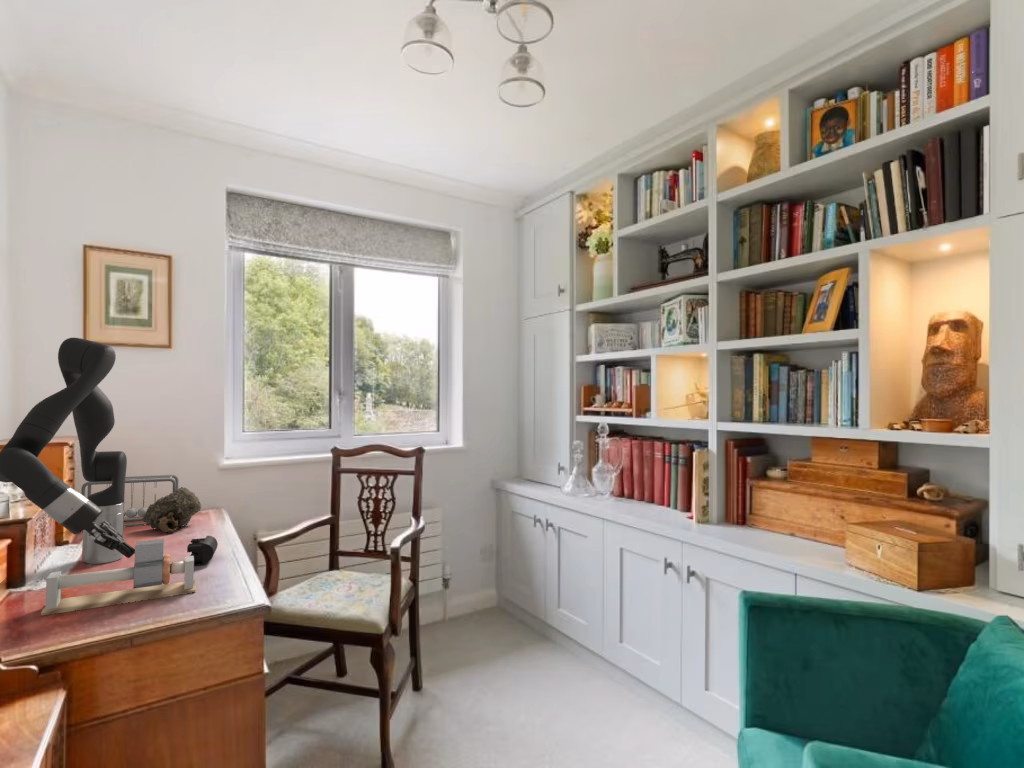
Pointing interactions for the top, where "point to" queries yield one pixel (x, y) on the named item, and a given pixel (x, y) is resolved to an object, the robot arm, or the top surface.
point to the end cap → (202, 549)
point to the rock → (172, 510)
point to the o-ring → (166, 569)
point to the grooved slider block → (148, 563)
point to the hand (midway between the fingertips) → (132, 554)
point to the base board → (118, 597)
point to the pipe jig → (107, 579)
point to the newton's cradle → (132, 512)
